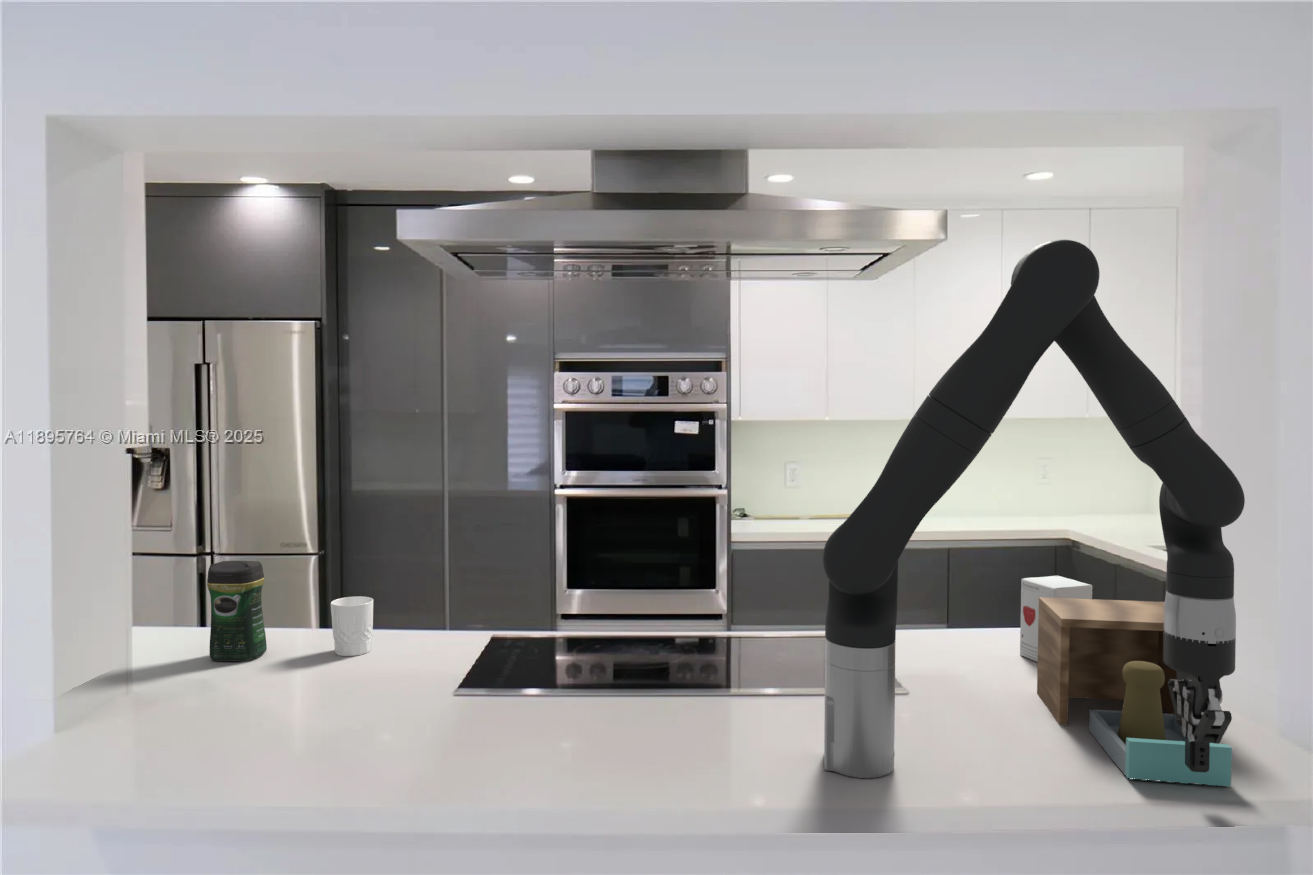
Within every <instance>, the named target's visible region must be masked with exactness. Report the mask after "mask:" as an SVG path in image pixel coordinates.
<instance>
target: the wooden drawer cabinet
mask: <svg viewBox="0 0 1313 875" xmlns="http://www.w3.org/2000/svg"><path fill="white" fill-rule="evenodd" d="M1164 603H1165V601H1153V600H1151V601H1146V600H1125V599H1124V600H1120V599H1100V598H1099V599H1097V598H1095V599H1093V598H1092V599H1073V598H1046V597H1039V616H1038V662H1037V671H1036V672H1037V674H1036V676H1037V678H1036V680H1037V681H1036V694H1037V696H1038V697H1039V698H1040V699H1041V701H1042V703H1043V704H1044V705H1045V707H1046V708H1047V709H1048V711H1049V712H1050V714H1051V715H1052V716H1053V718H1054V719H1055V721H1056V722H1057V723H1058V725H1061V726H1062V725H1065V726H1066V725H1068V723H1069V698H1072V699H1073V698H1075V699H1076V698H1077V699H1094V700H1110V701H1111V700H1113V701H1124V697H1125V691H1126V686H1127V684H1126V683H1125V681H1124V679H1123V668H1124V666H1125V664H1126V663H1128V662H1131V661H1145V662H1150V663H1154V664H1156V665H1158V666H1159V667H1161V668H1162V670H1163V672H1164V676H1165V681H1164V684H1163V686H1162V687H1161V688H1160V696H1161V704H1162V709H1163V710H1164V711H1165V712H1167V714H1175V712H1174V708H1173V704H1172V700H1171V695H1170V691H1169V687H1168V680H1169V679H1176V680H1177V676H1176V672H1177V671H1175V670H1173V669H1171V668H1169V667H1167V666H1166V665H1165V664H1164V662H1163V620H1164Z"/></svg>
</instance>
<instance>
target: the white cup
mask: <svg viewBox="0 0 1313 875" xmlns="http://www.w3.org/2000/svg"><path fill="white" fill-rule="evenodd" d="M330 613H331V626H332V638H333V642H334V654H335V655H337V656H340V657H356V656H362V655H365V654H368V653H370V652H371V651H372V637H373V630H374V629H373V628H374V598H372V597H371V596H370V597H369V596H360V595H359V596H346V597H341V598H337V599H333V600H332V601H331V602H330Z"/></svg>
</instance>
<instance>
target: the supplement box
mask: <svg viewBox="0 0 1313 875" xmlns="http://www.w3.org/2000/svg"><path fill="white" fill-rule="evenodd" d="M1020 583H1021V584H1020V587H1021V589H1020V632H1019V633H1020V634H1019V635H1020V636H1019V637H1020V638H1019V642H1020V643H1019V655H1020V656H1021V657H1024V658H1027V659H1029V660H1032V661H1033V662H1037V663H1038V616H1039V597H1046V598H1073V599H1093V585H1092V584H1089V583H1086V582H1081V581H1078V580H1077V579H1076V580H1075V579H1072V578H1069V577H1068V578H1067V577H1064V576H1060V575H1049V576H1039V577H1038V576H1037V577H1036V576H1035V577H1034V576H1033V577H1024V578H1021V582H1020Z"/></svg>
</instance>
